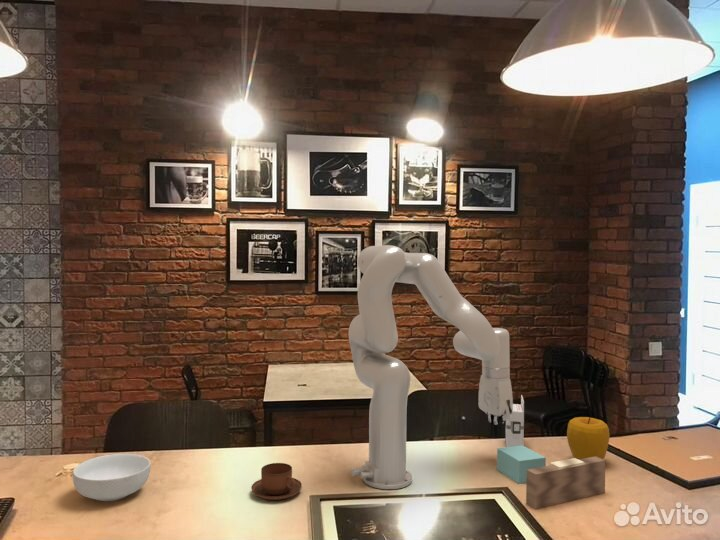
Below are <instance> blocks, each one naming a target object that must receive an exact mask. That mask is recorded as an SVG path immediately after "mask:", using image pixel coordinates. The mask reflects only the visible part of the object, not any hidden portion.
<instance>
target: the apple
mask: <svg viewBox="0 0 720 540" xmlns="http://www.w3.org/2000/svg"><path fill="white" fill-rule="evenodd" d="M610 435H611V434H610V429H609V425H608V424H607V423H605V422H604V421H603V420H601V419H598V418H594V417H589V416H579V417H578V416H577V417H576V416H575V417H574V418H572V419H569V421H568V423H567V430H566V439H567V443H568V447H569V450H570V452H571V454H572V456H573V458H576V459H578V460H579V459H585V458H590V457H595V456H596V457H598V458H601V459H603V460H605V457H606V455H607V451H608V447H609V443H610Z"/></svg>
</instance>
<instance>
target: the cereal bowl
mask: <svg viewBox="0 0 720 540" xmlns="http://www.w3.org/2000/svg"><path fill="white" fill-rule="evenodd" d="M151 465H152V464H151V460H150V459H149V458H148V457H146V456H144V455H140V454H135V453H114V454H106V455H101V456H96V457H94V458H93V457H92V458H90V459H87V460H85V461H83V462H81V463H79V464H77V465H76V466H75V467H74V469H73V471H72V482H73V485H74V488H75V490H76V491H77V492H78V493H79V494H80V495H81V496H83V497H86V498H89V499H91V500H96V501H98V502H99V501H100V502H114V501H118V500H122V499H124V498H126V497H127V496H129V495H131V494H133V493H136V492H137V491H138V490H140V489H141V488H143V486H144V485H145V484H146V483H147V482H148V479H149V478H150V473H151V467H152V466H151Z"/></svg>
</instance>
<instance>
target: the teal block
mask: <svg viewBox="0 0 720 540" xmlns="http://www.w3.org/2000/svg"><path fill="white" fill-rule="evenodd" d="M496 452H497V453H496V454H497V455H496V470H497V471H498V472H500V473H501V474H503V475H505V476H506V477H508V478H509V479H511V480H512V481H514V482H515V483H517V484H519V485H520V484H526V480H527V470H529V469H534V468H539V467H544V466H547V465H546V463H547V462H546V459H547V458H546V456H543V455H542V454H540V453H538V452H536V451H534V450H532V449H530V448H528V447H526V446H525V445H524V444H523V445H520V446H512V447H507V446H506V447H505V446H504V447H497V451H496Z"/></svg>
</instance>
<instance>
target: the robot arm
mask: <svg viewBox="0 0 720 540" xmlns="http://www.w3.org/2000/svg"><path fill="white" fill-rule="evenodd" d="M357 266H358V269H359V271H360V272H361V274H363V275H362V277H361V279H360V281H359V284H358V289H357V303H358V311H359V312H358V314H357V315H356V316H355V317H353V318H352V321H351V322H350V324H349V327H348V340H349V341H348V342H349V346H350V351H351V357H352V363H353V367H354V371H355V374H356V377H357V379H358V380H359V382H361V384H363V385H364V386H366V387H367V388H369V389H372V391H373V392H372V397H371V399H370V403H369V411H368V412H369V413H368V414H369V415H368V416H369V417H368V425H369V426H368V428H369V429H368V437H369V438H368V461H367V460H365V464H364V465H362V467H354V468H351V470H350V473H351V476H352V477H358V476H360V479H362V481H363V482H364V484H366V485H367V486H369V487H372V488H376V489H379V490H397V489H401V488H406V487H407V486H410V484H412V481H413V475H412V474H411V472H410V471H408V470H407V414H408V413H407V411H408V410H407V406H408V398H409V397H408V396H409V392H410V388H411V387H410V386H411V374H410V370H409V368H408V366H407V365H406V363H404V362H403V361H402V360H400V359H398V358H396V357H393V356H390V355H387V354H389V353H390V352H392V351H393V350H394V349H395V348H396V347H397V345H398V340H399V334H398V329H397V324H396V323H397V322H396V317H395V313H394V308H393V299H392V298H393V297H392V292H393V288H394V285H395V283H400V284H401V283H402V284H411V285H415V286H416V287H417V290H418V291H419V293H421V296H423V298H424V299H425V301H426V302H427V304H428V306H429V307H430V309H431V310H432V311H433V313H434V314H435V315H436V316H438V317H439V318H441V319H442V320H444V321H446V322H447V323H449V324H450V325H453V326H454V327H455V328H457V329H458V330H459V331H458V332H456V333H455V335H453V340H452V344H453V347H454V350H455V351H456V352H458V353H459V354H460V355H462V356H466V357H469V358H474V359H477V360H481V375H480V377H479V385H478V403H477V404H478V408H479V409H480V410H481V411H482V412H484V413H485V414H486V416H487V418H488V419H487V420H488V423H489V437H490V438H493V439H498V438H503V435H504V433H503V432H504V430H503V429H504V428H503V424H504V423H505V422H506V421H508V420H510V414H512V411H513V404H514V399H513V389H512V381H511V376H510V375H511V373H510V372H511V369H510V366H511V365H510V364H511V363H510V361H511V360H510V359H511V358H510V354H511V353H510V333H509V331H508V330H507V329H506V328H502V327H493V326H492V324H491V323H490V322H489V320H488V319H487V317H485V315H483V314H482V312H480V311H479V310H478V309H477V308H476V307H474V305H473V304H471V302H469V301H468V300H467V299H466V298H465V297H463V295H461V293H460V291H458V289H457V287H456V286H455V284H454V283H453V281H452V279H451V277H449V275H448V273H447V272H446V270H445V269H444V267H443V266H442V264H441V263H440V261H439V259H437V257H435V255H433V254H430V253H426V252H405V251H404V250H403V249H402V248H400V247H398V246H396V245H391V244H390V245H387V244H386V245H369V246H367V247H365V248H364V249H362V250H361V251H360V252H359V255H358V257H357Z"/></svg>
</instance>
